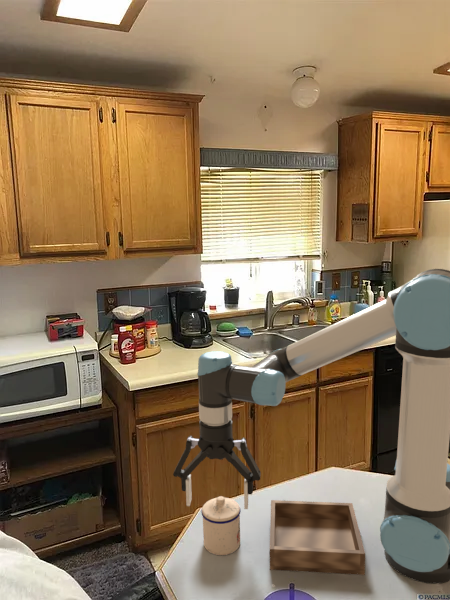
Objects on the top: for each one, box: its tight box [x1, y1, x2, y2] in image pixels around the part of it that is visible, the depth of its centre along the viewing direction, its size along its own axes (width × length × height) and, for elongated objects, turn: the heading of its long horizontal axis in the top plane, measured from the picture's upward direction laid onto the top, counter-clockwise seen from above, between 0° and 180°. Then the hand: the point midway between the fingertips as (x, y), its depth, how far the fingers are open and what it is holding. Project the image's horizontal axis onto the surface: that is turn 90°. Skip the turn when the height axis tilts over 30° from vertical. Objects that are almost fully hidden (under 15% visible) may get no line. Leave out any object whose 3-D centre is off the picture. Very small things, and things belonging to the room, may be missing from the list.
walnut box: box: [269, 499, 366, 576], centre depth 109 cm, size 20×18×5 cm
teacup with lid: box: [201, 495, 242, 556], centre depth 111 cm, size 12×9×12 cm
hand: (217, 504), depth 111 cm, fingers open, 13 cm apart
